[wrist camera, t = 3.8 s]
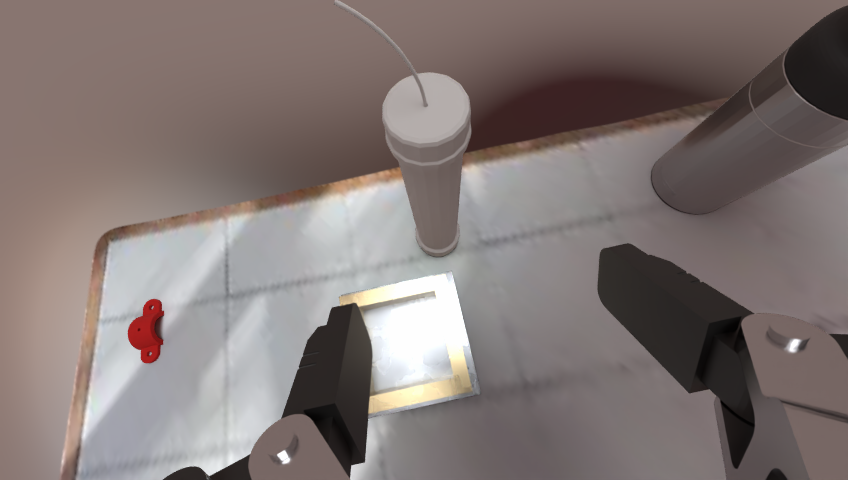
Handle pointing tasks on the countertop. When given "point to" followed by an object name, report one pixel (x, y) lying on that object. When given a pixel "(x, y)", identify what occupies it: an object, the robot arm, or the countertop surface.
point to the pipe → (427, 147)
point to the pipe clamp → (147, 331)
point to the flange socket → (416, 344)
